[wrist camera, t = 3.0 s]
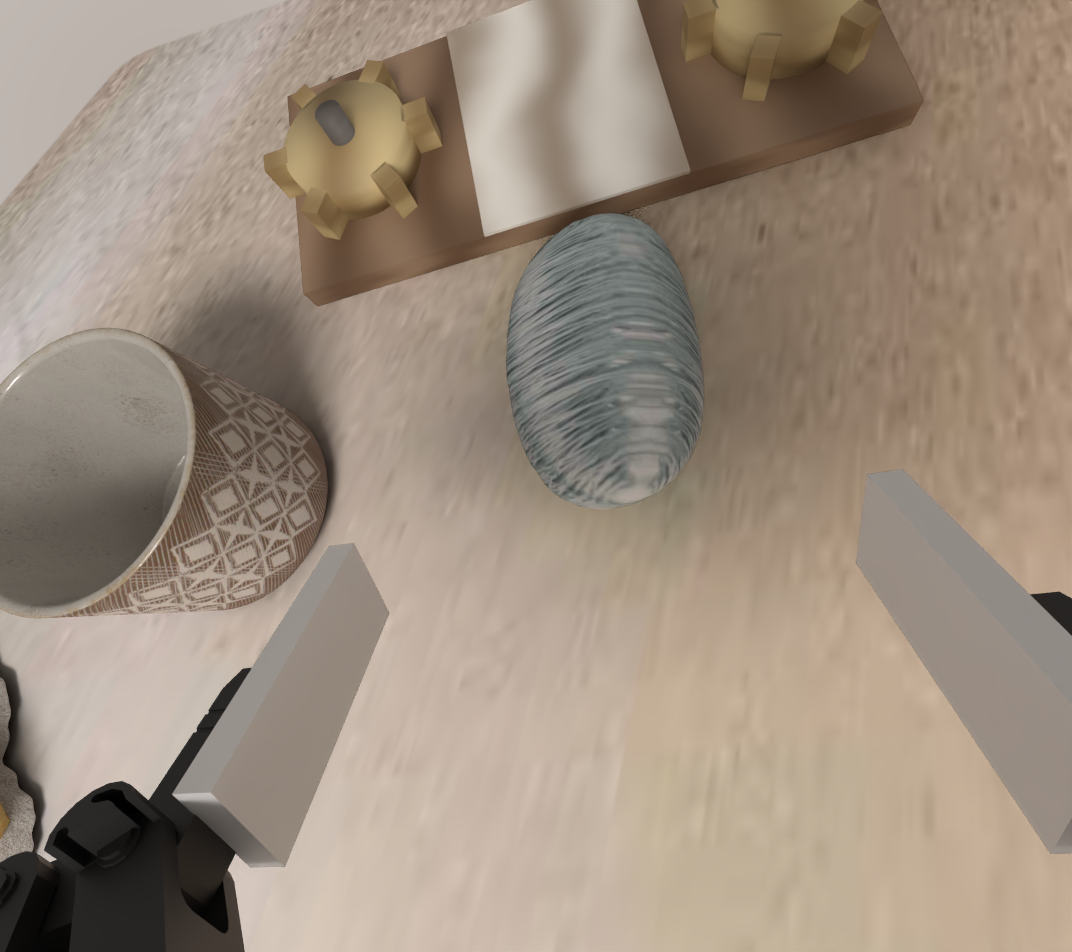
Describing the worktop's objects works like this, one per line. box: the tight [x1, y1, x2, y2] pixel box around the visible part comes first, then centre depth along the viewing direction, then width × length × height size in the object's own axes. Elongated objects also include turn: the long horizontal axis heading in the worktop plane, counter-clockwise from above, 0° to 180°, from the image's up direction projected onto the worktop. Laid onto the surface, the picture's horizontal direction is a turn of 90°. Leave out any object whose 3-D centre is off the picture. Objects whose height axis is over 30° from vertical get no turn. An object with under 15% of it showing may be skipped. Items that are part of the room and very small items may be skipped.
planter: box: [0, 328, 327, 618], centre depth 27 cm, size 13×13×10 cm
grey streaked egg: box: [506, 213, 704, 509], centre depth 25 cm, size 14×10×10 cm
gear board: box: [264, 0, 924, 306], centre depth 31 cm, size 37×16×6 cm, turn 101°
